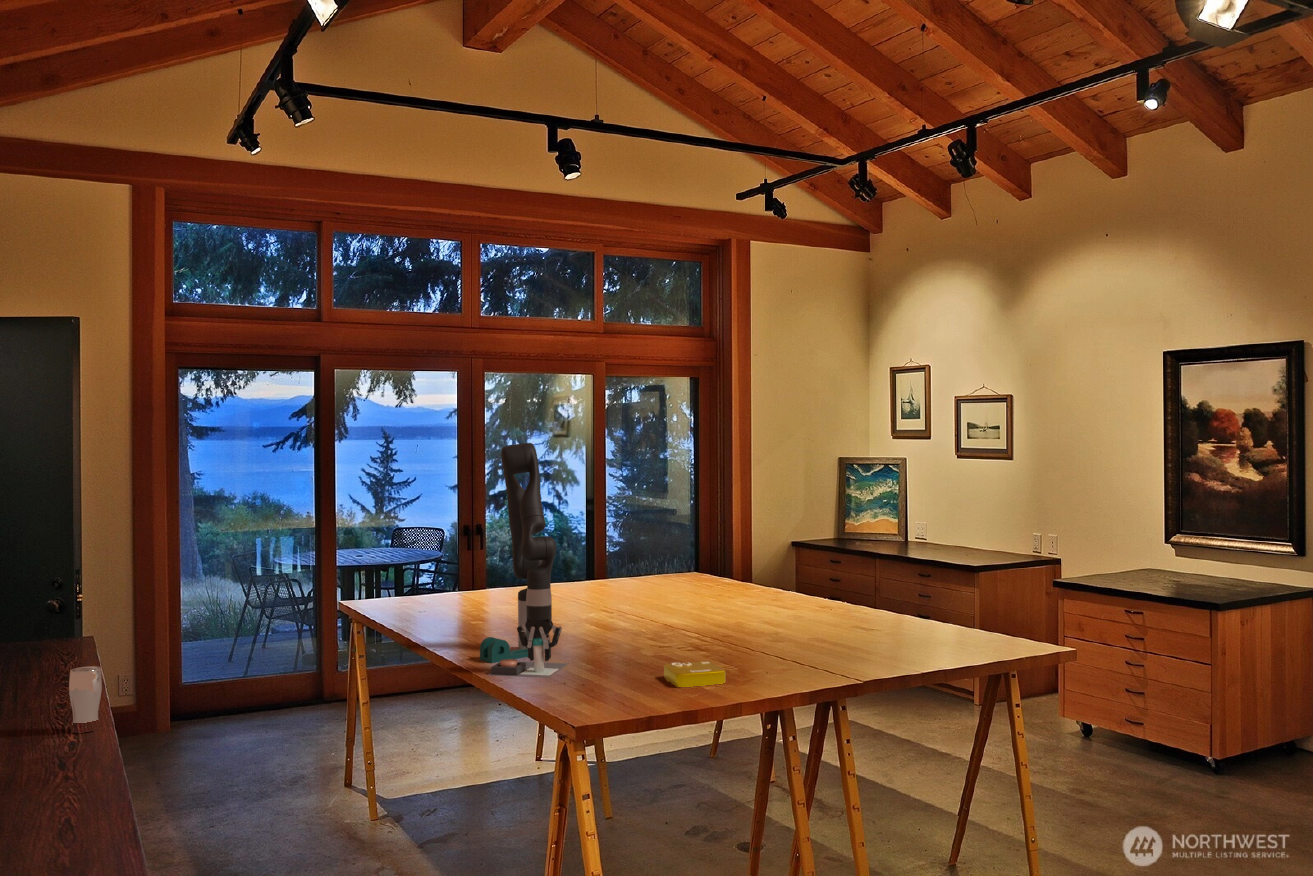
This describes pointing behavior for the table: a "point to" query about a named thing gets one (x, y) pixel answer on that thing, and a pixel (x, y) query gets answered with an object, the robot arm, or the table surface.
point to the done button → (508, 663)
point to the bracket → (499, 651)
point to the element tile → (694, 674)
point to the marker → (538, 654)
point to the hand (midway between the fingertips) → (539, 660)
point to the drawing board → (526, 670)
